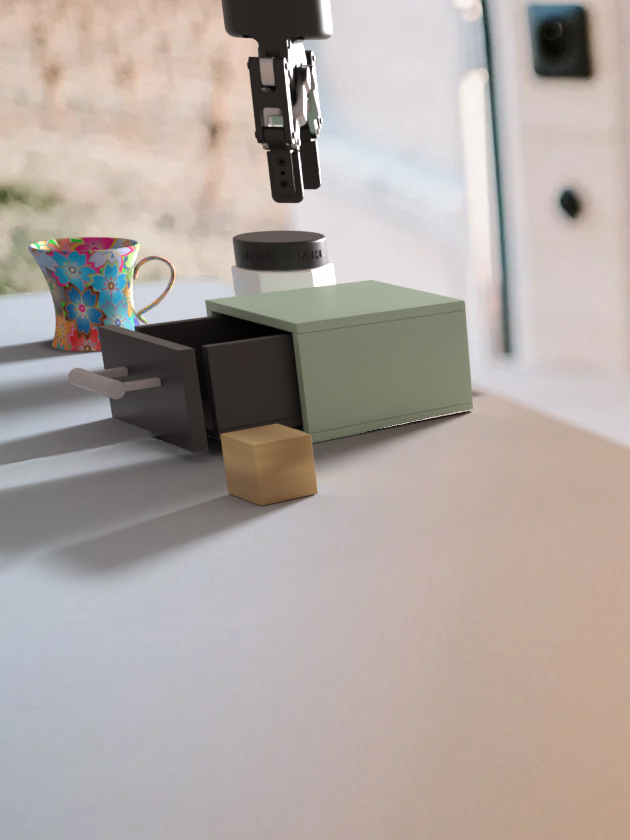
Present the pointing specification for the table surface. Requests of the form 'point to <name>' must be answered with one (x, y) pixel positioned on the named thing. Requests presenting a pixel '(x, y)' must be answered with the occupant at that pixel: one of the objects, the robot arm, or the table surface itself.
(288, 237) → the jar
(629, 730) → the table surface
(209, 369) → the dark drawer with handle
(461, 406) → the green drawer cabinet
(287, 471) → the block
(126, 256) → the mug
